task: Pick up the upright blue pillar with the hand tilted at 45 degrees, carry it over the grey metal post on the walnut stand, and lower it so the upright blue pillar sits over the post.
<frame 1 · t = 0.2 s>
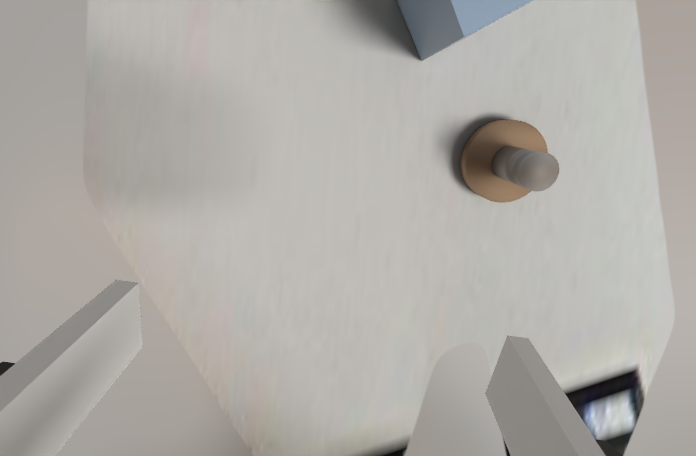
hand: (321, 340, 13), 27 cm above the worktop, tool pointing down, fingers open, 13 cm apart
post stand: (498, 160, 38), on the worktop
upright blue pillar: (438, 13, 34), on the worktop
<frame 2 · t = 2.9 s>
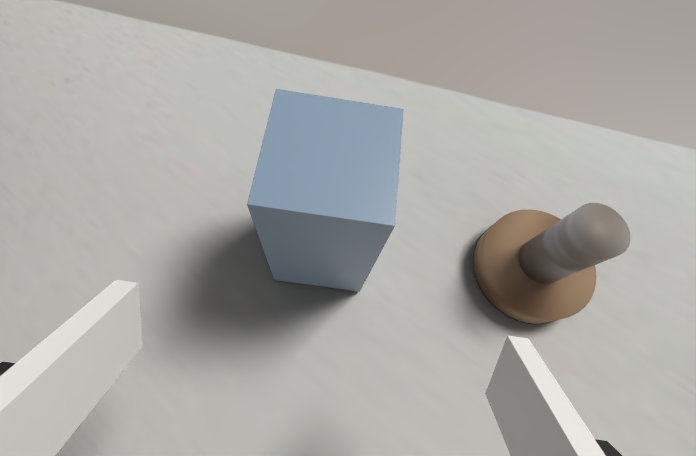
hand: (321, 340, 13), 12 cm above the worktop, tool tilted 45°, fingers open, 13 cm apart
post stand: (525, 269, 28), on the worktop
upright blue pillar: (323, 245, 27), on the worktop
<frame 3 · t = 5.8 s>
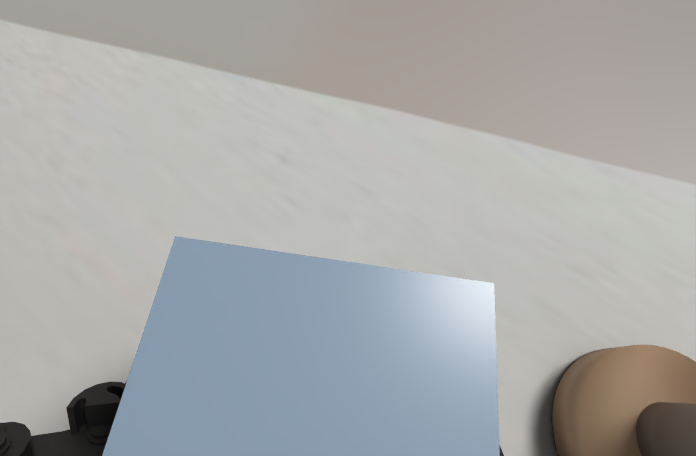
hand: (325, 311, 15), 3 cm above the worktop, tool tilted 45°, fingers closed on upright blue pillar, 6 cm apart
post stand: (635, 437, 17), on the worktop
upright blue pillar: (311, 405, 17), on the worktop, touching gripper
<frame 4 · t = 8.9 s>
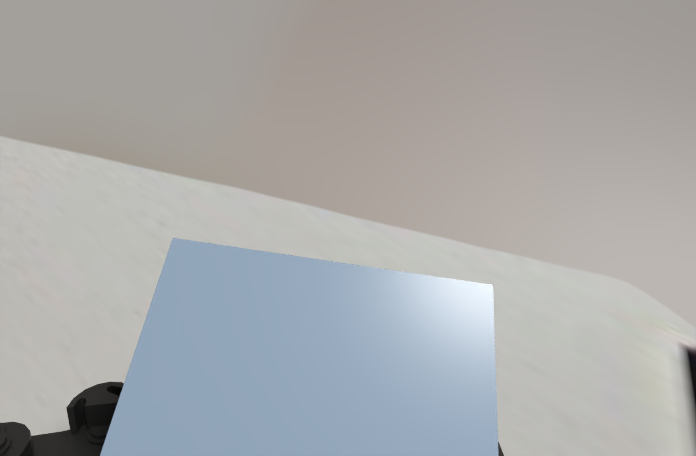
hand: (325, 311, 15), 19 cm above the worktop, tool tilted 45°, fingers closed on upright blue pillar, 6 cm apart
upright blue pillar: (310, 406, 17), point 16 cm above the worktop, touching gripper
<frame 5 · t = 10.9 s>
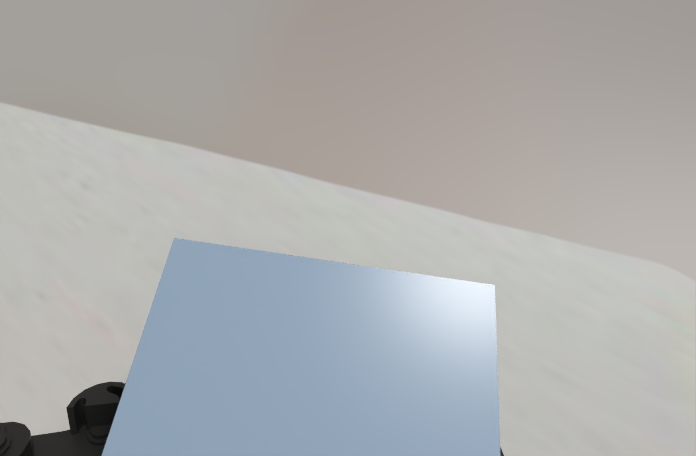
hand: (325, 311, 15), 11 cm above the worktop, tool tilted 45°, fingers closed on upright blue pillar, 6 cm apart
upright blue pillar: (310, 406, 17), point 8 cm above the worktop, touching gripper
when the fingers open (6 cm above the worktop, at t = 12.4 s): upright blue pillar stays where it is, resting on post stand.
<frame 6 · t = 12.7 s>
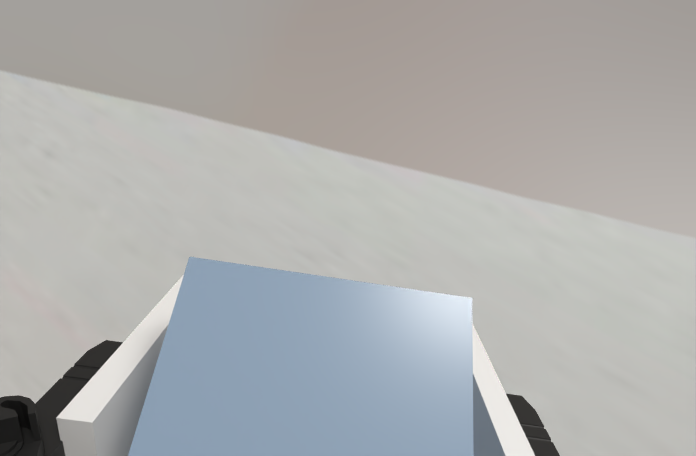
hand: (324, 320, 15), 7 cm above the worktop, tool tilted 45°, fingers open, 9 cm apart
upright blue pillar: (310, 405, 18), point 2 cm above the worktop, touching post stand
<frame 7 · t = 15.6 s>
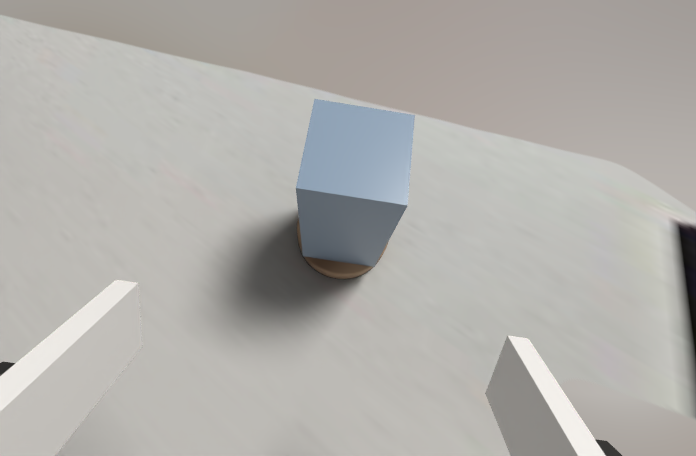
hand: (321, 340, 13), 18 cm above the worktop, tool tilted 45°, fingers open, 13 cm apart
post stand: (342, 235, 34), on the worktop
upright blue pillar: (343, 228, 32), point 2 cm above the worktop, touching post stand
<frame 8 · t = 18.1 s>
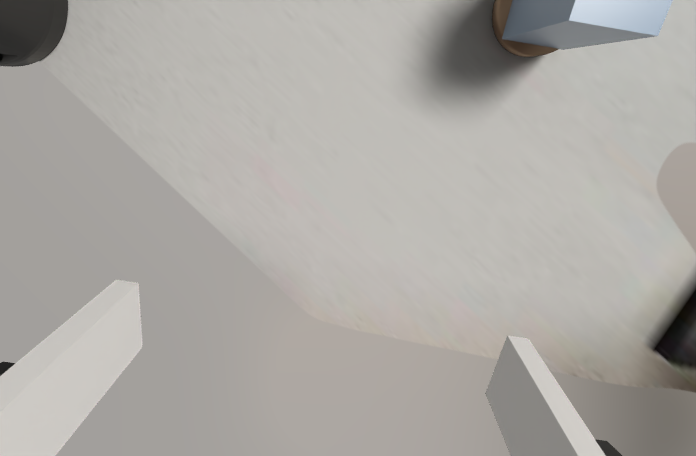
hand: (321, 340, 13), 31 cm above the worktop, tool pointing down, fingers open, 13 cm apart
post stand: (534, 11, 36), on the worktop
upright blue pillar: (543, 8, 34), point 2 cm above the worktop, touching post stand
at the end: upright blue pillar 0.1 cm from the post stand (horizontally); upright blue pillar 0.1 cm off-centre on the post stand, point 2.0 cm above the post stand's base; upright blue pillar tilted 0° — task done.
